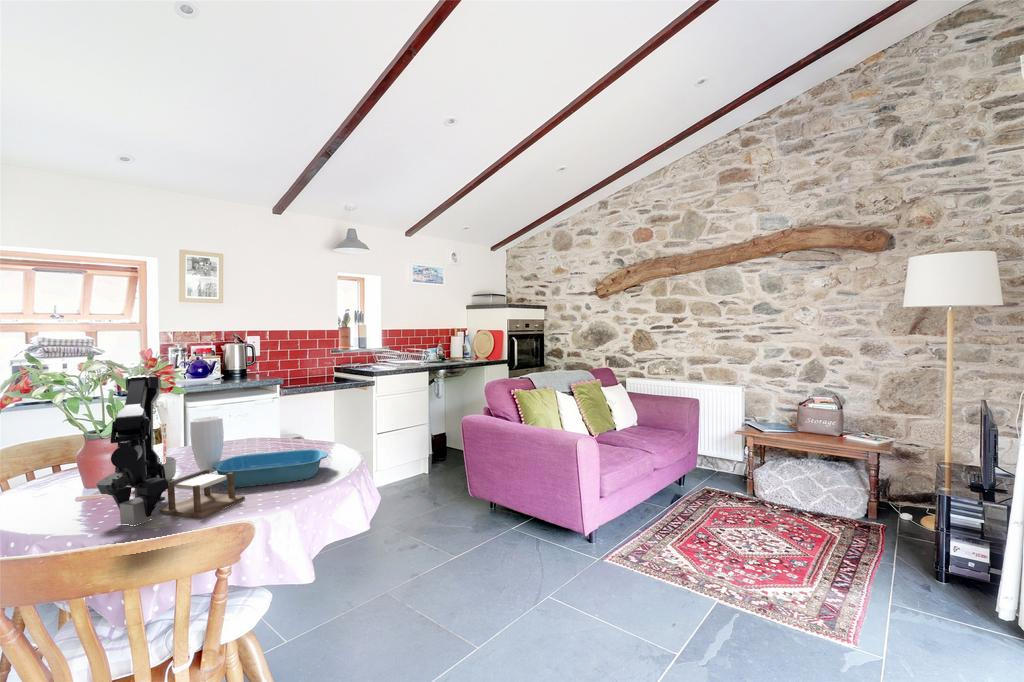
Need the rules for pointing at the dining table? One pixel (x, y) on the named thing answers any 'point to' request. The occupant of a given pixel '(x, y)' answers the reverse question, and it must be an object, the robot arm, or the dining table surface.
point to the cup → (207, 441)
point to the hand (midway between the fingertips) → (136, 514)
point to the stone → (133, 512)
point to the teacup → (170, 467)
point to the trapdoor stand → (200, 498)
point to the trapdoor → (201, 481)
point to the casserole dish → (271, 467)
